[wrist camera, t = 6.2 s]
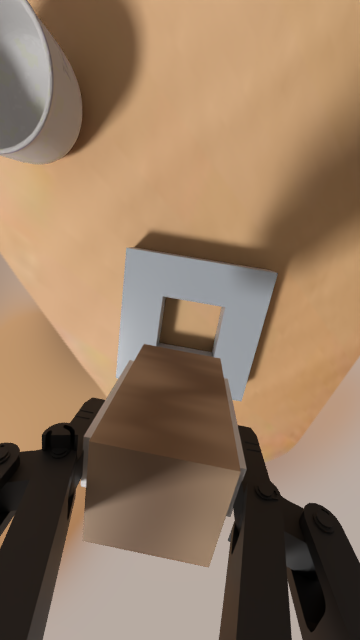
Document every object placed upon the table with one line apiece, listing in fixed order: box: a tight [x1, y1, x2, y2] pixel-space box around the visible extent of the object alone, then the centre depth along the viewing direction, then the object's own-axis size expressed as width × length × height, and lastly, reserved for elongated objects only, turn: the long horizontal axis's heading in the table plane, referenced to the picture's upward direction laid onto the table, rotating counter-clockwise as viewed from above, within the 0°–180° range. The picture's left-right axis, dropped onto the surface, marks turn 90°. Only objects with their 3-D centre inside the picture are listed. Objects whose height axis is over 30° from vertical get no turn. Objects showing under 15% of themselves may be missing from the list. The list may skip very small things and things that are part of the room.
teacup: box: [0, 0, 82, 164], centre depth 21 cm, size 14×11×8 cm
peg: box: [83, 344, 241, 567], centre depth 12 cm, size 5×5×8 cm
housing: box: [116, 247, 278, 401], centre depth 29 cm, size 16×16×3 cm
